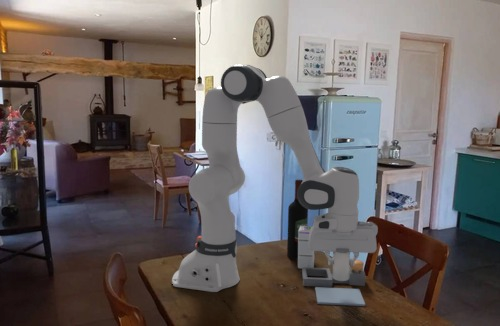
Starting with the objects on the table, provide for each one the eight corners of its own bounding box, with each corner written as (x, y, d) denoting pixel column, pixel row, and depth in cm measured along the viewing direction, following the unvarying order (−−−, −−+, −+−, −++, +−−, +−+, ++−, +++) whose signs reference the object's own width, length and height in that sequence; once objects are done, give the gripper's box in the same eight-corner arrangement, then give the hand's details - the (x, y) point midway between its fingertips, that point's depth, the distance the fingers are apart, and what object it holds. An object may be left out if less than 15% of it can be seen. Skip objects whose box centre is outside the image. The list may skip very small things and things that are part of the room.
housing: (303, 285, 137) (303, 274, 136) (302, 274, 146) (302, 263, 145) (366, 288, 135) (366, 277, 134) (360, 276, 144) (361, 265, 144)
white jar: (332, 281, 126) (333, 249, 124) (330, 273, 131) (331, 243, 129) (350, 281, 125) (352, 249, 124) (348, 274, 131) (349, 243, 129)
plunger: (350, 283, 138) (351, 264, 137) (348, 277, 142) (349, 259, 141) (363, 283, 137) (364, 265, 136) (361, 278, 142) (362, 259, 141)
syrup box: (313, 269, 150) (314, 230, 147) (297, 268, 151) (298, 229, 149) (314, 263, 155) (315, 226, 153) (298, 262, 156) (299, 225, 154)
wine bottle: (296, 250, 168) (298, 177, 164) (310, 256, 163) (313, 180, 158) (283, 254, 164) (284, 179, 159) (296, 260, 158) (299, 183, 153)
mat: (317, 303, 125) (317, 301, 125) (315, 288, 135) (315, 287, 134) (365, 306, 124) (365, 304, 124) (359, 290, 133) (359, 289, 133)
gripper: (375, 219, 128) (373, 262, 130) (308, 217, 129) (307, 259, 131) (380, 225, 121) (378, 270, 124) (309, 223, 123) (308, 267, 125)
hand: (341, 264), depth 127 cm, fingers closed on white jar, 5 cm apart
